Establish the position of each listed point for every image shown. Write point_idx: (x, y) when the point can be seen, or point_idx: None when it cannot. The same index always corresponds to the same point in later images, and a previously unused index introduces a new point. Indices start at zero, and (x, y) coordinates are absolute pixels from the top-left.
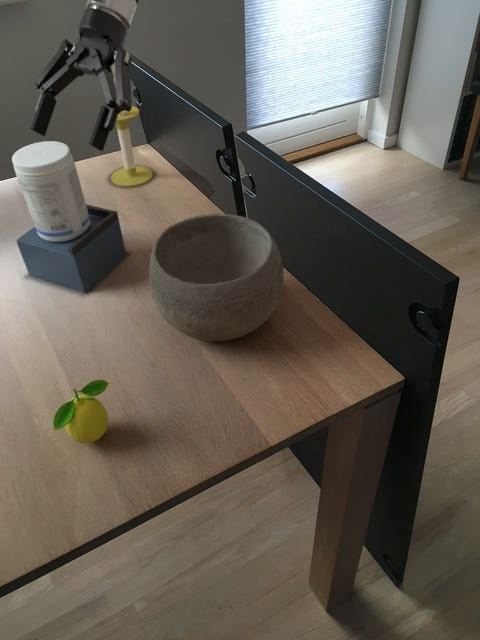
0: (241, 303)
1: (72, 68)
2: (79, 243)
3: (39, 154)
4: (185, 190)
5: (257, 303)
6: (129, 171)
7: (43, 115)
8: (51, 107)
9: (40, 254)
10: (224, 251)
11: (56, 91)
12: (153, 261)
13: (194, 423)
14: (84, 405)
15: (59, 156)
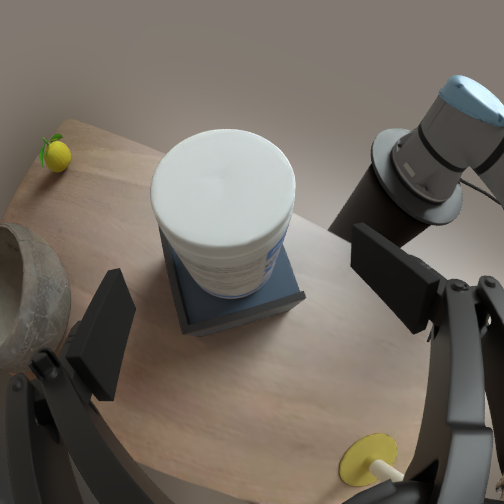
0: None
1: (436, 446)
2: (160, 236)
3: (217, 173)
4: (270, 493)
5: None
6: (370, 461)
7: (380, 266)
8: (399, 305)
9: None
10: None
11: (435, 342)
12: (14, 229)
13: (23, 217)
14: (46, 148)
15: (161, 196)
